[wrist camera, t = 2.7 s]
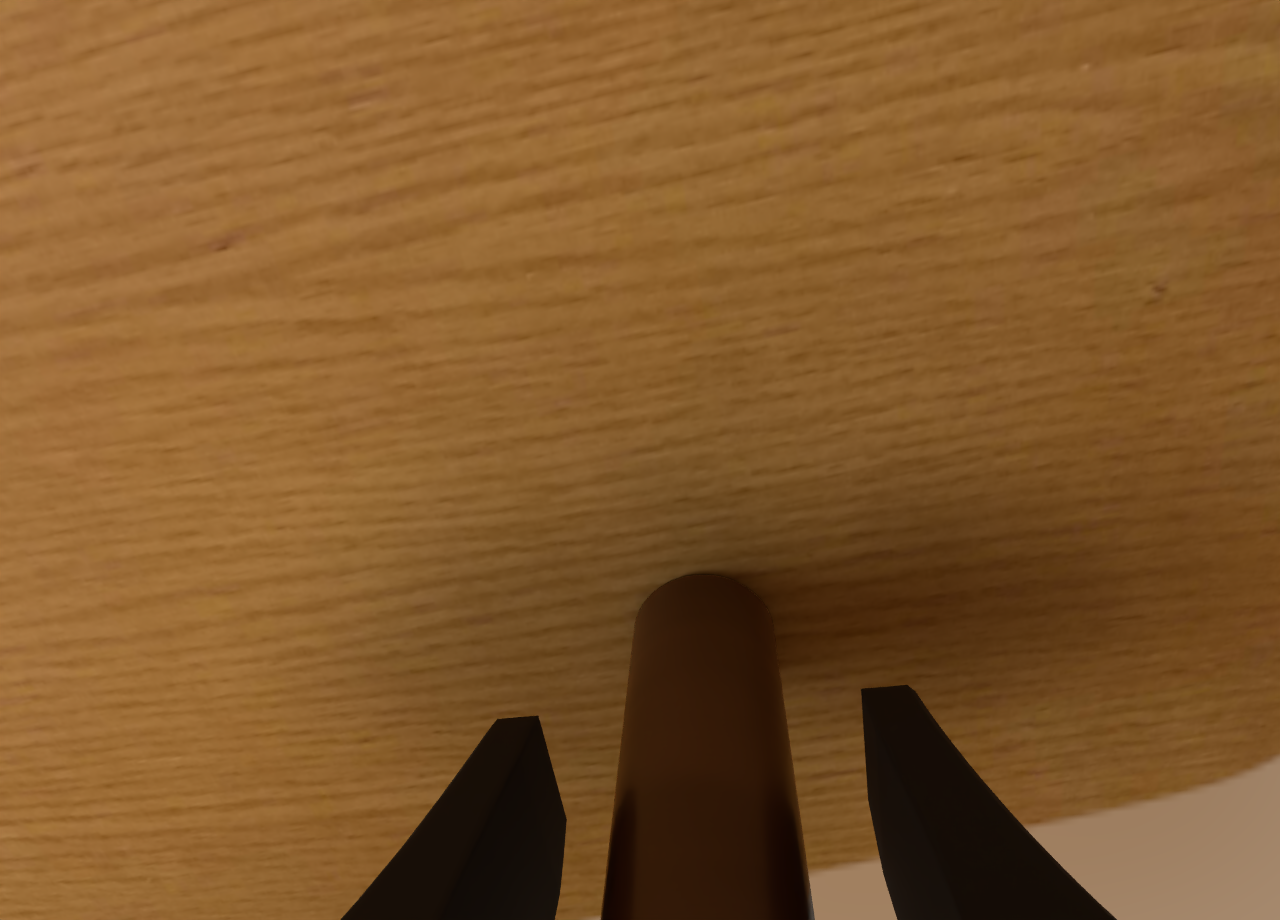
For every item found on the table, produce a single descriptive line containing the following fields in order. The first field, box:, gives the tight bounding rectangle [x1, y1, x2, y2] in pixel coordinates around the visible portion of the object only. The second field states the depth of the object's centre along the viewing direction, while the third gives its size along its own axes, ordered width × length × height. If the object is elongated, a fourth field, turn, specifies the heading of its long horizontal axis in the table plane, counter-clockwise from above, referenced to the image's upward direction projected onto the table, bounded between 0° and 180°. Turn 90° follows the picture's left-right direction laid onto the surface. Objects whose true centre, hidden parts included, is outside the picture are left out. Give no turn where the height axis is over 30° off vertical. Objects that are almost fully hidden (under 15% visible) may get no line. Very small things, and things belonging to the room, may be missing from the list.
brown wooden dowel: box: [601, 575, 815, 920], centre depth 10 cm, size 2×2×9 cm
